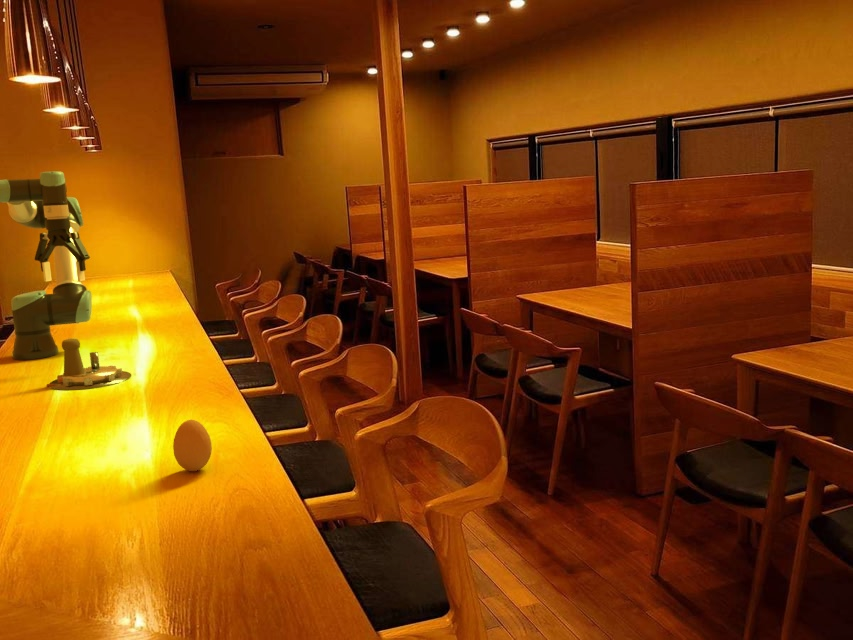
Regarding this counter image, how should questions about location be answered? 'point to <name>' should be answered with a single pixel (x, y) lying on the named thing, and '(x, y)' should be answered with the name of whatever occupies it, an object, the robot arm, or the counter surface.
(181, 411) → the counter surface
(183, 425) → the egg
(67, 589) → the counter surface
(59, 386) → the plate
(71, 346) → the pepper mill
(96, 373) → the sprocket
